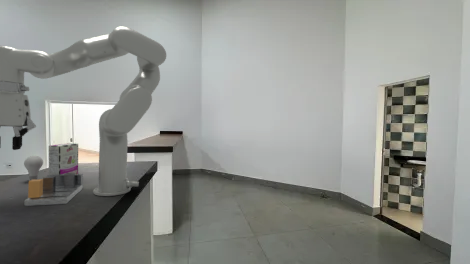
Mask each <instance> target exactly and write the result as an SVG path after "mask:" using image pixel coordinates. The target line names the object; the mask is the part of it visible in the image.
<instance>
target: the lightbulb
mask: <svg viewBox="0 0 470 264" xmlns="http://www.w3.org/2000/svg"><path fill="white" fill-rule="evenodd" d="M43 165H44V160H43V158H42V157H41V156H38V155H30V156H28V157H27V158H25V160H24V162H23V166H24V168H25V169H26V171H27V172H28V176H29V177H28V178H29V181H30V180H32V179H38V177H39V174H40V170H41V168H42V167H43Z"/></svg>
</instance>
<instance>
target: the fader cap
mask: <svg viewBox="0 0 470 264" xmlns="http://www.w3.org/2000/svg"><path fill="white" fill-rule="evenodd" d="M27 187H28V189H27V191H28V193H27V198H38V197H41V196H42V195H43V178H42V179H41V178H40V179H38V178H37V179H32V180H30V179H29V180H28V186H27Z"/></svg>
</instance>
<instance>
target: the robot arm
mask: <svg viewBox="0 0 470 264" xmlns="http://www.w3.org/2000/svg"><path fill="white" fill-rule="evenodd" d="M127 54H131V55H133V56H135V57H136V62H137V64H138V67H139V72H138V73H137V75H136V76H135V78H134V79H133V80H132V81H131V82H130V84H129V85H128V86H127V87H126V88H125V89H124V90H123V91H122V92H121V94H120V95H119V100H118V101H117V102H116V104H115V105H114V106H113V107H112V108H109V109H107V110H105V111H104V112H103V113H101V115H100V117H99V121H98V135H99V136H98V137H99V146H98V147H99V148H98V149H99V151H98V185H97V187H95V188H94V189H93V190H92V192H93V194H94V195H95V196H100V197H112V196H120V195H125V194H127V193H129V192H130V191H131V187H134V188H135V187H139V184H140V182H139V181H138V180H137V181H136V180H129V177H127V172H128V168H127V166H128V148H129V147H128V134H129V133H130V132H131V131H132V130H133V129H134V128H135V127H136V125H137V124H138V123H139V122H140V120H141V119H142V118H143V117H144V115H145V114H146V113H147V111H148V110H149V109H150V107H151V105H152V103H153V102H152V101H153V96H152V94H153V93H154V91H155V90H156V89H157V87H158V86H159V83H160V80H161V72H160V68H159V66H161V65H162V64H164V63H165V61H166V59H167V52H166V49H165V47H164V46H163V45H162V44H160V43H159V42H158V41H157V40H154V39H152V38H150V37H148V36H146V35H144V34H142V33H140V32H138V31H136V30H134V29H132V28H130V27H127V26H122V25H121V26H117V27H115V28H114V29H113V30H112V31H111V32H109V33H105V34H101V35H96V36H92V37H87V38H84V39H83V38H82V39H80V40H78V41H76V42H74V43H73V44H71V45H70V46H68V47H67V48H64V49H62V50H59V51H56V52H52V53H48V52H45V51H42V50H38V49H24V48H23V49H20V48H16V47H11V46H6V45H0V128H1V127H12V129H13V133H14V136H12V144H11V145H12V148H11V149H12V150H13V151H17V150H21V148H22V146H23V137H24V136H25V135H26V134H27V133H29V131H32V130H34V129H35V128H36V127H37V125H36V124H35V122H34V121H33V120H32V119H31V118H32V117H31V108H30V101H29V96H28V95H27V94H25V92H29V91H30V87H29V86H26V85H25V73H29V74H30V75H31V76H32V77H35V78H37V79H42V80H43V79H45V80H47V79H50V78H55V77H58V76H61V75H64V74H68V73H71V72H74V71H77V70H80V69H83V68H87V67H90V66H92V65H95V64H99V63H103V62H105V61H109V60H112V59H113V60H114V59H116V58H120V57H123V56H126V55H127ZM1 137H2V136H0V149H1V147H2V145H1V141H2V140H1Z"/></svg>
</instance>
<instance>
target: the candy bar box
mask: <svg viewBox="0 0 470 264" xmlns="http://www.w3.org/2000/svg"><path fill="white" fill-rule="evenodd" d="M66 173H75V174H79V143H77V142H75V143H74V142H68V143H67V142H66V143H60V144H52V145H51V144H50V145H48V175H54V174H66Z"/></svg>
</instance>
